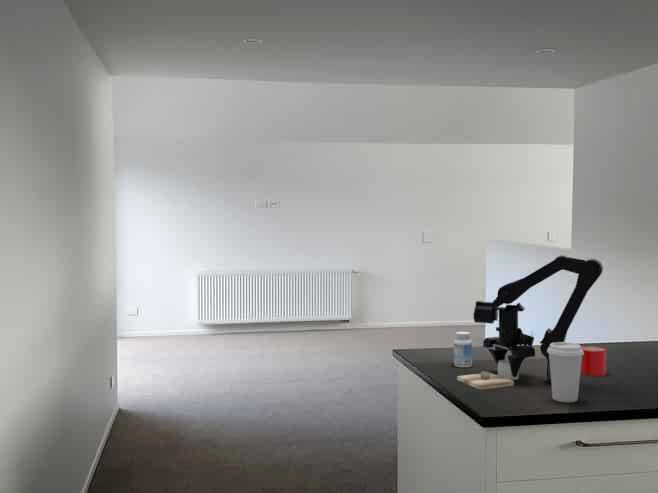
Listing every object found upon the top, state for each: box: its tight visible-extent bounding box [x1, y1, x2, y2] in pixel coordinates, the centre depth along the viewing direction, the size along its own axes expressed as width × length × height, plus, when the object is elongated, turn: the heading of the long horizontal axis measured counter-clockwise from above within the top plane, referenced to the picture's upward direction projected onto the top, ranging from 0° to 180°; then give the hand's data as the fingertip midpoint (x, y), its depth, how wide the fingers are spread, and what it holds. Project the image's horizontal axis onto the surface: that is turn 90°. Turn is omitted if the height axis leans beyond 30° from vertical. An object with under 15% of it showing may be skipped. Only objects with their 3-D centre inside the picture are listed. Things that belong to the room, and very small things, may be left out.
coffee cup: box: [547, 341, 584, 403], centre depth 178 cm, size 10×10×15 cm
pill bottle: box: [453, 331, 473, 368], centre depth 217 cm, size 6×6×11 cm
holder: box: [456, 370, 515, 391], centre depth 196 cm, size 12×12×3 cm
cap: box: [497, 359, 520, 381], centre depth 201 cm, size 6×6×5 cm
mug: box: [580, 345, 607, 377], centre depth 208 cm, size 8×12×8 cm, turn 49°
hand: (508, 374), depth 201 cm, fingers closed on cap, 6 cm apart
